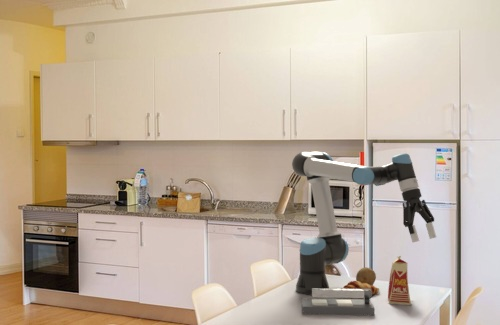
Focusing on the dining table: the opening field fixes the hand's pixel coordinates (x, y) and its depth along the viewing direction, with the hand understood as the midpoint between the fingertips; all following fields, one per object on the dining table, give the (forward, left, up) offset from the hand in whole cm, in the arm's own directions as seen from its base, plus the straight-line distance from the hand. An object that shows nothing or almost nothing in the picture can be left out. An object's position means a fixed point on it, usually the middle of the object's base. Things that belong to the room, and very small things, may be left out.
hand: (424, 239), depth 230 cm
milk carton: (-8, -8, -28) cm, 31 cm away
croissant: (-17, -24, -28) cm, 41 cm away
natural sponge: (-29, -19, -28) cm, 45 cm away
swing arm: (+7, -34, -22) cm, 42 cm away
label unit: (+7, -36, -28) cm, 46 cm away
